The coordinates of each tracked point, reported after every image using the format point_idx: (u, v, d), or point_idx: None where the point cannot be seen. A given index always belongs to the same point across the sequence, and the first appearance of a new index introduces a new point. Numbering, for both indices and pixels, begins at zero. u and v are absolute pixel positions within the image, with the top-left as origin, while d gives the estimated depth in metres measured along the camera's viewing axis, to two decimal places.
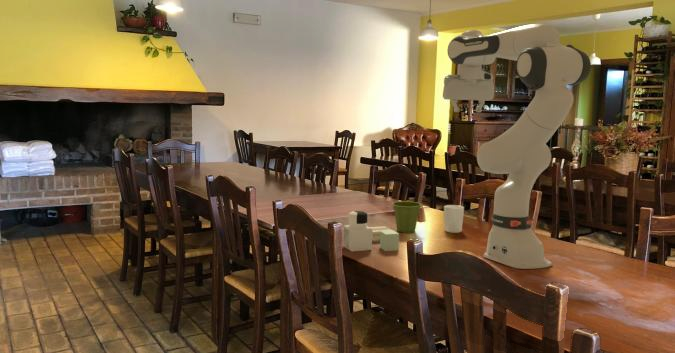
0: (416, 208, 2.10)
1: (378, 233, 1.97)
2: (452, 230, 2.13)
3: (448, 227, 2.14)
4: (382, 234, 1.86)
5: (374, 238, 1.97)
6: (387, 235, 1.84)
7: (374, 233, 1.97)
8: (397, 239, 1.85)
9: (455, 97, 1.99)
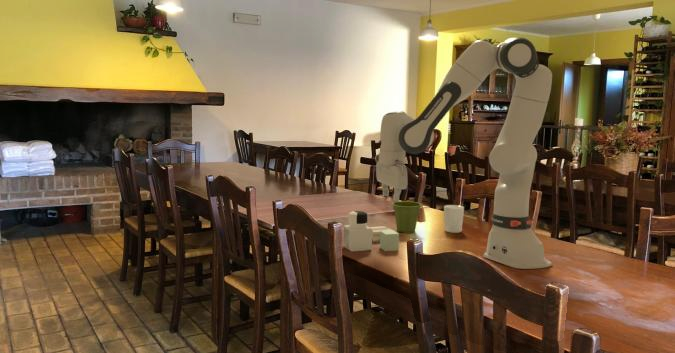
0: (416, 208, 2.10)
1: (379, 233, 1.97)
2: (452, 230, 2.13)
3: (448, 227, 2.14)
4: (382, 234, 1.86)
5: (375, 238, 1.97)
6: (387, 235, 1.84)
7: (375, 233, 1.97)
8: (397, 239, 1.85)
9: None
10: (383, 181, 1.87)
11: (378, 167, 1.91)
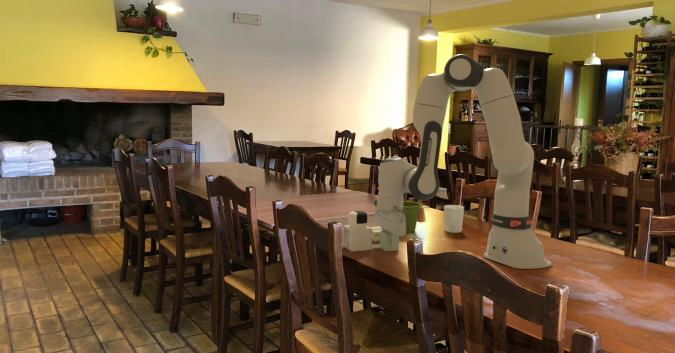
0: (416, 208, 2.10)
1: (379, 233, 1.97)
2: (452, 230, 2.13)
3: (448, 227, 2.14)
4: (382, 234, 1.86)
5: (375, 238, 1.97)
6: (387, 235, 1.84)
7: (375, 233, 1.97)
8: (397, 238, 1.85)
9: None
10: (382, 226, 1.89)
11: (376, 211, 1.93)
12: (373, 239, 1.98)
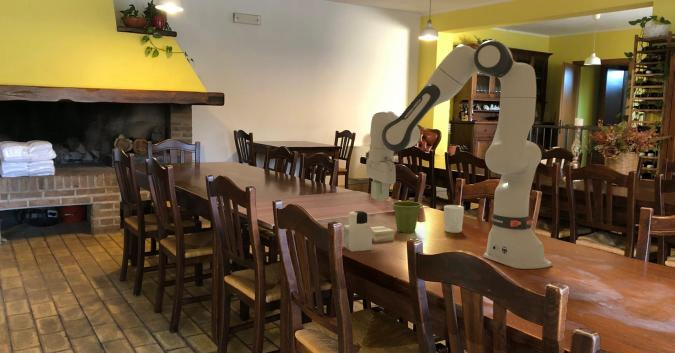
0: (416, 208, 2.10)
1: (380, 233, 1.97)
2: (452, 230, 2.13)
3: (448, 227, 2.14)
4: (373, 184, 1.97)
5: (376, 238, 1.97)
6: (378, 184, 1.95)
7: (376, 233, 1.97)
8: (387, 188, 1.96)
9: None
10: (373, 177, 2.00)
11: (368, 164, 2.04)
12: (374, 239, 1.98)
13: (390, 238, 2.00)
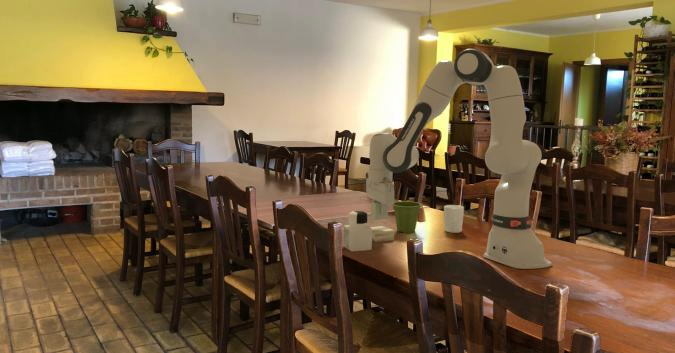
0: (416, 208, 2.10)
1: (380, 233, 1.97)
2: (452, 230, 2.13)
3: (448, 227, 2.14)
4: (372, 204, 2.00)
5: (376, 238, 1.97)
6: (377, 204, 1.98)
7: (376, 233, 1.97)
8: (386, 208, 1.99)
9: None
10: (372, 197, 2.03)
11: (368, 183, 2.07)
12: (374, 239, 1.97)
13: (390, 238, 2.00)
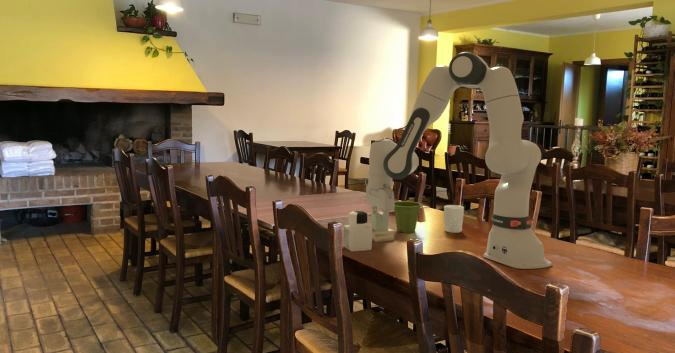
0: (416, 208, 2.10)
1: (380, 233, 1.97)
2: (452, 230, 2.13)
3: (448, 227, 2.14)
4: (373, 215, 2.01)
5: (377, 238, 1.97)
6: (377, 216, 1.98)
7: (377, 233, 1.97)
8: (387, 219, 1.99)
9: None
10: (372, 203, 2.03)
11: (368, 190, 2.07)
12: (374, 239, 1.97)
13: (390, 238, 2.00)
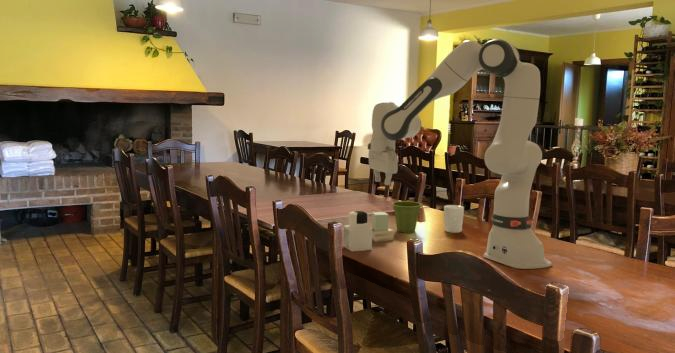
0: (416, 208, 2.10)
1: (380, 233, 1.98)
2: (452, 230, 2.13)
3: (448, 227, 2.14)
4: (373, 215, 2.01)
5: (376, 238, 1.97)
6: (377, 216, 1.98)
7: (376, 233, 1.97)
8: (387, 219, 1.99)
9: None
10: (375, 167, 2.01)
11: (370, 155, 2.05)
12: (374, 239, 1.98)
13: (390, 238, 2.00)
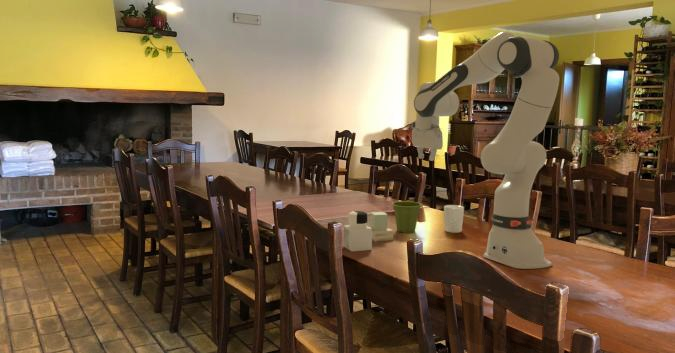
0: (416, 208, 2.10)
1: (380, 233, 1.98)
2: (452, 230, 2.13)
3: (448, 227, 2.14)
4: (372, 215, 2.01)
5: (376, 238, 1.97)
6: (376, 215, 1.98)
7: (376, 233, 1.97)
8: (385, 219, 1.99)
9: None
10: (419, 145, 2.13)
11: (414, 133, 2.17)
12: (373, 239, 1.98)
13: (389, 238, 2.00)
